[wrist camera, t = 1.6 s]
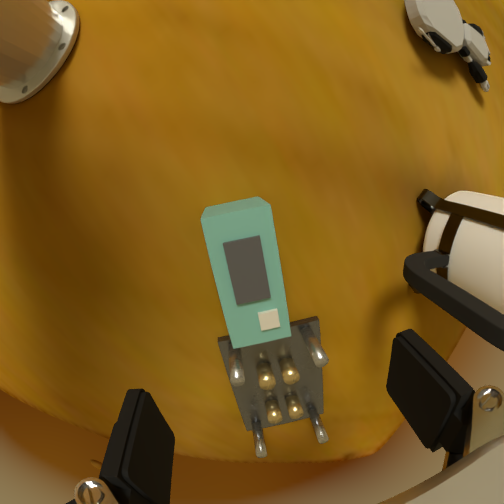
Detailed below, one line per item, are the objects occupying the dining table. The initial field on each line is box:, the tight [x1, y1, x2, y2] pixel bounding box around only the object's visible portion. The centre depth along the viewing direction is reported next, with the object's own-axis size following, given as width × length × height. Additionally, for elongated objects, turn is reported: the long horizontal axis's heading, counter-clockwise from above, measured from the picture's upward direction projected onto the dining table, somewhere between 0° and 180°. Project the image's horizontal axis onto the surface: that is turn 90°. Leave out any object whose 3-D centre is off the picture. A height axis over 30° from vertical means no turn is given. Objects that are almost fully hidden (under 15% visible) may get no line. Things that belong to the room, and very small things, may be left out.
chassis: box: [218, 316, 329, 458], centre depth 26 cm, size 15×10×6 cm, turn 10°
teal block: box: [201, 197, 291, 349], centre depth 22 cm, size 10×4×6 cm, turn 11°
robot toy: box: [405, 0, 491, 92], centre depth 18 cm, size 12×4×15 cm
